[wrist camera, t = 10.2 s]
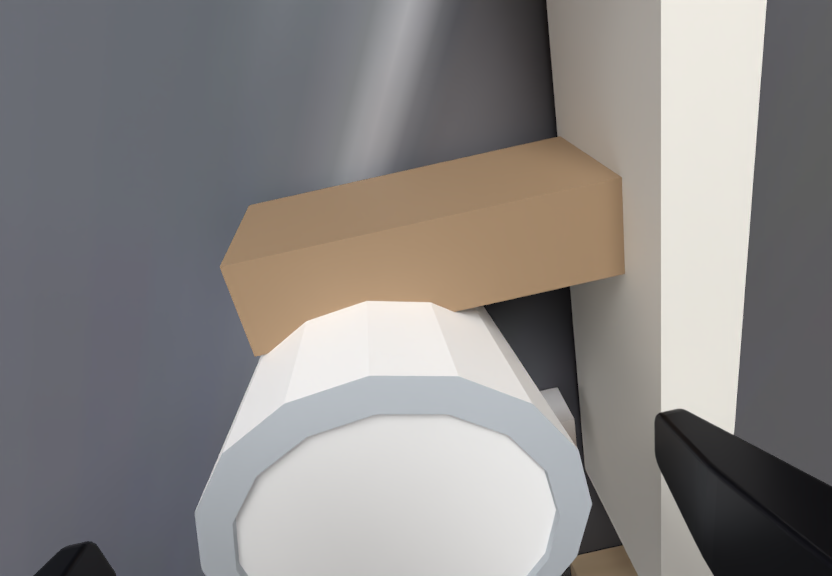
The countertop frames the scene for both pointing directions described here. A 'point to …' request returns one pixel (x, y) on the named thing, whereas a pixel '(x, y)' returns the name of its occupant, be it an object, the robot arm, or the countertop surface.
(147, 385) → the countertop surface
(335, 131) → the countertop surface
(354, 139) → the countertop surface
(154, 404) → the countertop surface
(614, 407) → the sliding door
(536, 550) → the white grey-rimmed cylinder
